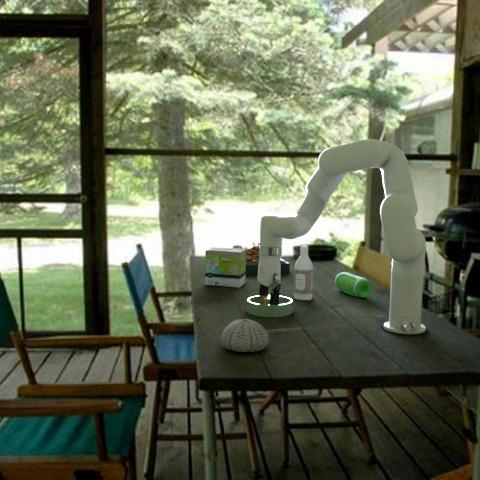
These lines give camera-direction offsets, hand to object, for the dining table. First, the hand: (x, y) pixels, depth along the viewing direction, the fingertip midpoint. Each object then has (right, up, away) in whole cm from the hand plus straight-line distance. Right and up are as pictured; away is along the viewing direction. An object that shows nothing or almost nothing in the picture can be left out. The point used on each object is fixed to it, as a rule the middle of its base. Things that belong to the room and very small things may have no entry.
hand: (268, 301), depth 210 cm
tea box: (-16, +2, +47) cm, 50 cm away
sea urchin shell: (-8, -9, -39) cm, 41 cm away
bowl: (0, -4, 0) cm, 4 cm away
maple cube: (0, -3, 0) cm, 4 cm away
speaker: (+34, 0, +31) cm, 46 cm away
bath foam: (+14, -2, +22) cm, 26 cm away
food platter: (-4, +8, +94) cm, 94 cm away
